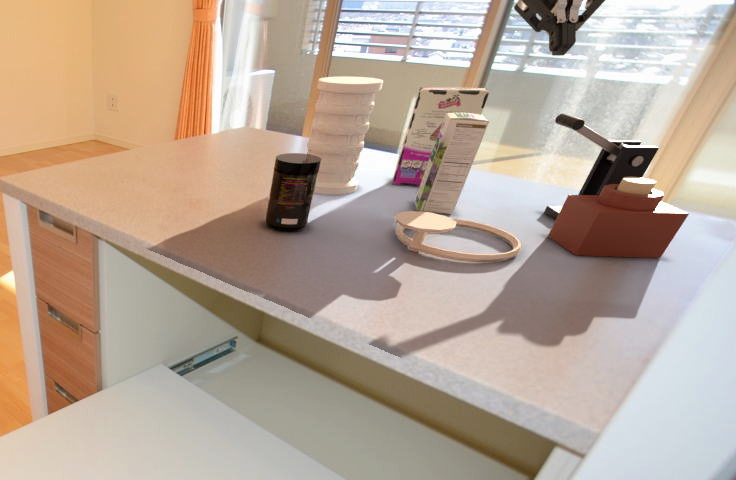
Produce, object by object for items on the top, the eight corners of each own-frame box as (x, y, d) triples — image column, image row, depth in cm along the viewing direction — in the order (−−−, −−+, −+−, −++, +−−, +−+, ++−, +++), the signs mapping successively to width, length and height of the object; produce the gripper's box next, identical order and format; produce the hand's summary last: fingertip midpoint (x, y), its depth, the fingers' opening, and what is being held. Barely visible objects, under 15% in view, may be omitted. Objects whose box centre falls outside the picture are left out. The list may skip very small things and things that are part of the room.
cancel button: (637, 190, 76) (645, 176, 75) (654, 197, 74) (662, 183, 72) (609, 189, 77) (617, 176, 76) (625, 196, 74) (633, 183, 73)
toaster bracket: (575, 232, 85) (619, 150, 77) (543, 212, 92) (580, 136, 85) (638, 234, 84) (689, 151, 76) (601, 214, 91) (644, 137, 84)
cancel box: (625, 238, 82) (658, 183, 77) (660, 258, 76) (698, 199, 71) (547, 236, 84) (574, 181, 79) (575, 255, 77) (607, 197, 73)
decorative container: (369, 190, 105) (400, 81, 93) (322, 197, 101) (348, 85, 90) (328, 176, 113) (352, 74, 102) (283, 182, 110) (302, 78, 99)
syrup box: (413, 202, 98) (443, 111, 89) (449, 205, 97) (484, 113, 88) (416, 211, 94) (448, 117, 85) (454, 214, 92) (491, 119, 83)
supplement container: (300, 219, 92) (314, 152, 85) (311, 233, 86) (327, 163, 80) (260, 219, 92) (271, 153, 86) (268, 233, 87) (281, 163, 80)
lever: (567, 130, 79) (582, 113, 77) (549, 124, 83) (564, 108, 81) (634, 172, 81) (650, 157, 79) (614, 164, 85) (629, 149, 83)
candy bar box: (452, 183, 107) (488, 87, 97) (454, 190, 104) (491, 91, 93) (390, 178, 111) (419, 85, 101) (390, 185, 107) (420, 88, 97)
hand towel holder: (563, 223, 76) (453, 244, 70) (547, 253, 78) (440, 275, 73) (460, 191, 88) (360, 206, 83) (450, 218, 91) (352, 235, 85)
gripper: (588, -28, 88) (590, 69, 86) (501, -26, 89) (500, 70, 87) (628, -76, 80) (630, 30, 78) (532, -72, 82) (532, 31, 80)
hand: (562, 51), depth 83 cm, fingers closed
